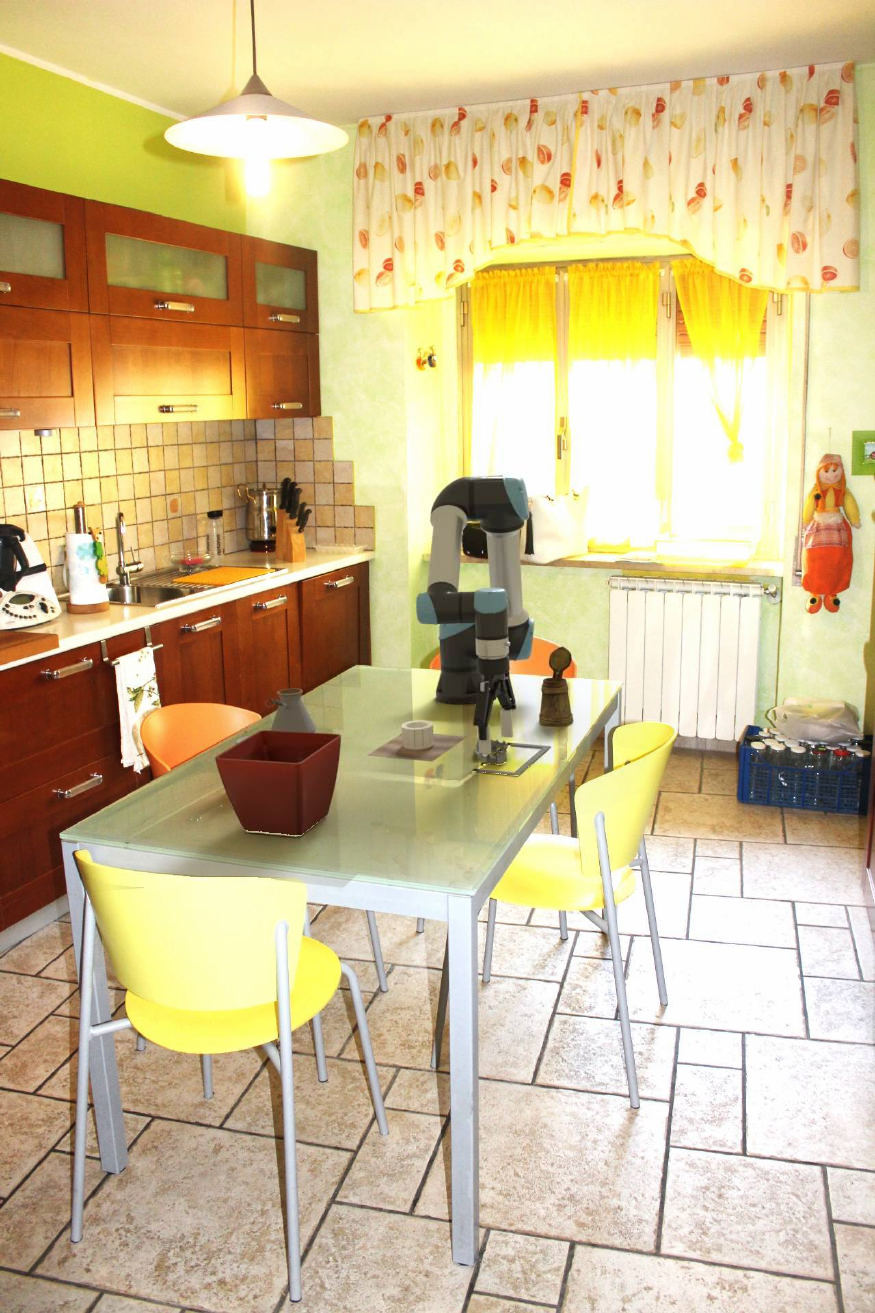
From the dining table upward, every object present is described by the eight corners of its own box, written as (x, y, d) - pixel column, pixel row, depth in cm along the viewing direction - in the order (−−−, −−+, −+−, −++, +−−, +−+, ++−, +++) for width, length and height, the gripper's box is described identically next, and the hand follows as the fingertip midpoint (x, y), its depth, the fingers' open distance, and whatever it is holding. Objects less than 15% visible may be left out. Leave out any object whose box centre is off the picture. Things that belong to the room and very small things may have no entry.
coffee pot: (279, 733, 288) (275, 677, 285) (322, 733, 286) (317, 677, 283) (251, 759, 268) (245, 699, 264) (296, 759, 265) (291, 699, 262)
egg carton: (507, 766, 254) (506, 749, 253) (474, 767, 254) (473, 750, 254) (509, 751, 264) (508, 735, 263) (477, 752, 265) (476, 735, 264)
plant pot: (220, 838, 219) (212, 756, 215) (267, 804, 236) (261, 728, 232) (306, 847, 212) (299, 763, 208) (348, 812, 229) (343, 734, 226)
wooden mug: (581, 712, 293) (579, 646, 289) (568, 727, 280) (567, 658, 276) (548, 711, 296) (546, 645, 292) (534, 725, 283) (532, 657, 279)
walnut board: (405, 735, 280) (405, 731, 280) (467, 741, 273) (466, 736, 273) (368, 759, 263) (367, 754, 262) (432, 766, 255) (432, 761, 255)
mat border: (478, 740, 273) (478, 739, 273) (551, 747, 265) (551, 746, 265) (440, 768, 254) (440, 767, 253) (518, 776, 245) (518, 775, 245)
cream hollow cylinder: (411, 739, 272) (410, 719, 271) (438, 742, 269) (437, 721, 268) (397, 748, 266) (396, 728, 265) (425, 751, 263) (424, 730, 262)
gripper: (487, 668, 241) (490, 761, 246) (527, 645, 263) (530, 731, 267) (455, 666, 244) (459, 758, 249) (498, 644, 266) (501, 729, 271)
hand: (496, 744), depth 258 cm, fingers open, 13 cm apart
